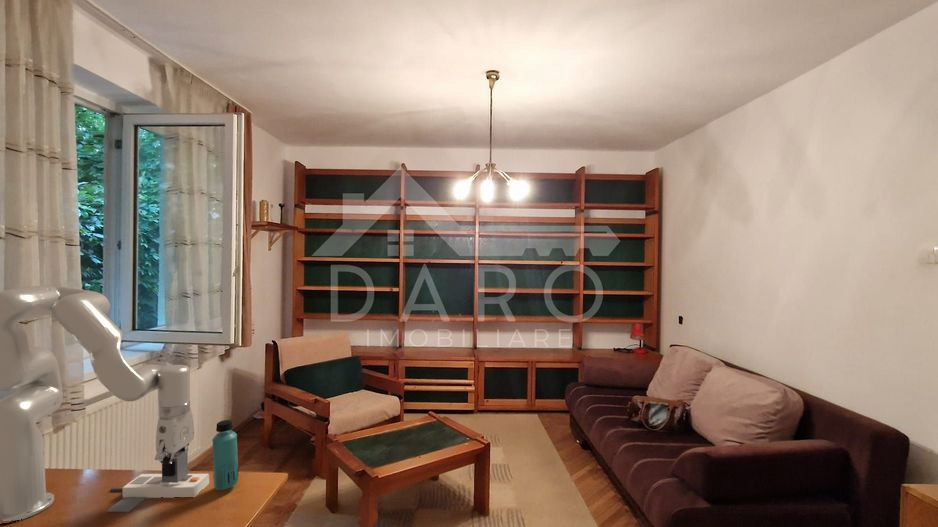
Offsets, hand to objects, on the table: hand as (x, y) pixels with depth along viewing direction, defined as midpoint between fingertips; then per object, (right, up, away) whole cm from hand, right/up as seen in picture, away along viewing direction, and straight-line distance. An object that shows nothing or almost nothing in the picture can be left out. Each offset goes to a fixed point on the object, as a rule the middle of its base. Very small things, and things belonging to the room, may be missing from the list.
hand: (175, 470), depth 122 cm
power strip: (-6, -6, 0) cm, 8 cm away
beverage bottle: (+14, -6, +1) cm, 15 cm away
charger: (0, -2, 0) cm, 2 cm away
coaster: (-9, -6, -7) cm, 13 cm away
